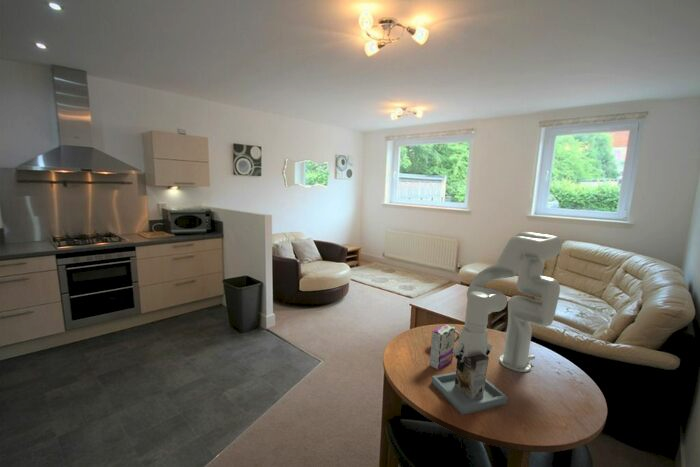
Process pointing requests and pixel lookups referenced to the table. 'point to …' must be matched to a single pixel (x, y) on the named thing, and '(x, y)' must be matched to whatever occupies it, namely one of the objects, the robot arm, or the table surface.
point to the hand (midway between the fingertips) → (470, 368)
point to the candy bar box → (442, 346)
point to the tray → (461, 401)
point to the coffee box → (472, 376)
